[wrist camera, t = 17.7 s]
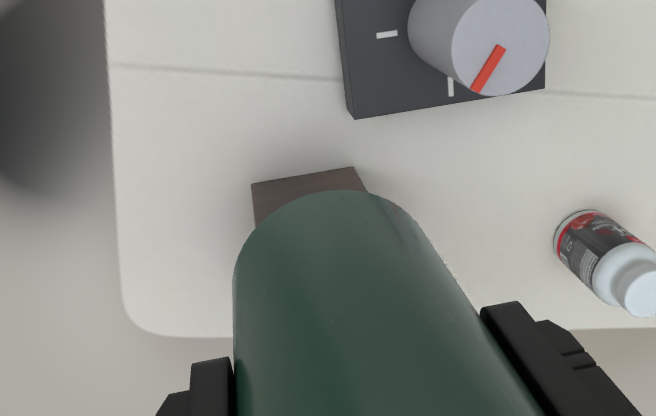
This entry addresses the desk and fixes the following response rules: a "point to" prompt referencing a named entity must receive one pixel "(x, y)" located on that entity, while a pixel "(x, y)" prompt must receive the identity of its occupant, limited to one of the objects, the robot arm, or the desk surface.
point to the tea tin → (360, 320)
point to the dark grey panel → (394, 62)
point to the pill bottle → (609, 261)
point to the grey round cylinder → (481, 41)
